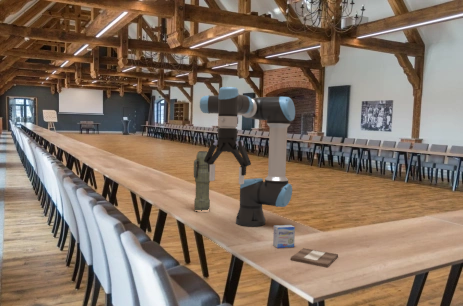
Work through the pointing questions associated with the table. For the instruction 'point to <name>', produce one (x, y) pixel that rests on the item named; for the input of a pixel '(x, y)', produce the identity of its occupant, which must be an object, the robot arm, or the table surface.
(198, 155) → the green robed figurine
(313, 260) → the pad
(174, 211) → the table surface
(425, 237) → the table surface
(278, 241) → the medicine box
